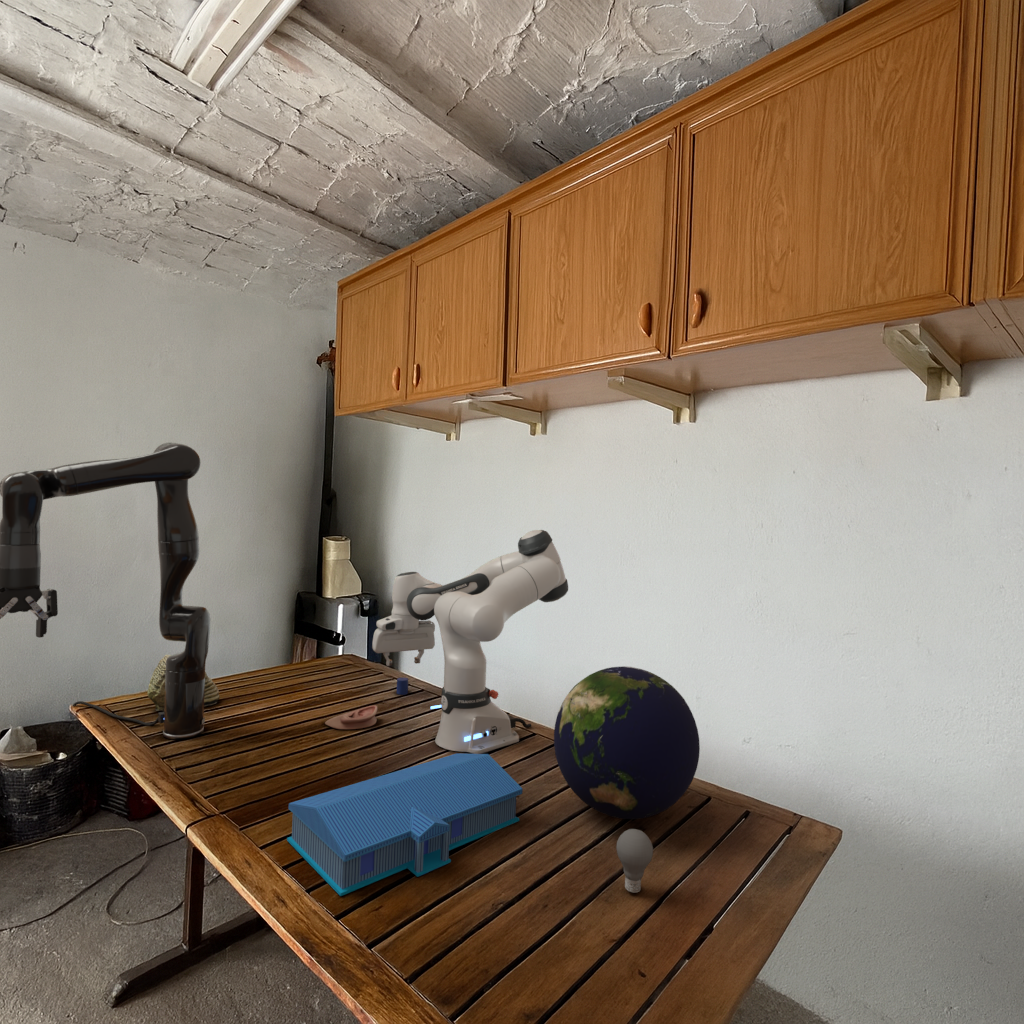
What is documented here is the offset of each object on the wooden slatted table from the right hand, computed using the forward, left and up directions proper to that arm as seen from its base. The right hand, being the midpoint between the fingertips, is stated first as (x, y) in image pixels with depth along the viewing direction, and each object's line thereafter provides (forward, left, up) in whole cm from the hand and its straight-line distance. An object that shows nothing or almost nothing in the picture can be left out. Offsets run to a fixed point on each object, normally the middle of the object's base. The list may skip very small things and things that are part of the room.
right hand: (403, 664), depth 205 cm
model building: (+31, +81, -10) cm, 87 cm away
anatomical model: (+23, +19, -10) cm, 31 cm away
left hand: (+98, +19, +20) cm, 102 cm away
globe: (-11, +93, -10) cm, 94 cm away
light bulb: (+6, +114, -10) cm, 115 cm away
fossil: (+62, -15, -10) cm, 64 cm away
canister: (0, -1, -10) cm, 10 cm away
